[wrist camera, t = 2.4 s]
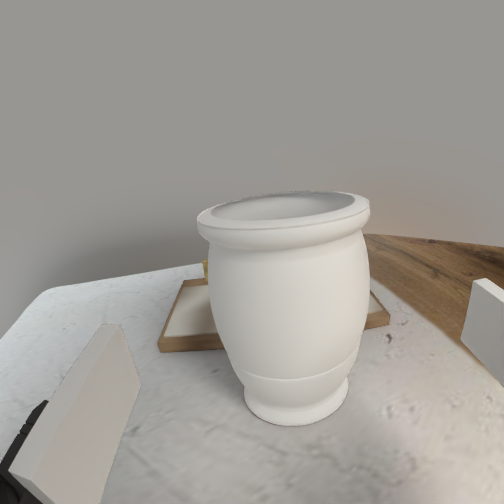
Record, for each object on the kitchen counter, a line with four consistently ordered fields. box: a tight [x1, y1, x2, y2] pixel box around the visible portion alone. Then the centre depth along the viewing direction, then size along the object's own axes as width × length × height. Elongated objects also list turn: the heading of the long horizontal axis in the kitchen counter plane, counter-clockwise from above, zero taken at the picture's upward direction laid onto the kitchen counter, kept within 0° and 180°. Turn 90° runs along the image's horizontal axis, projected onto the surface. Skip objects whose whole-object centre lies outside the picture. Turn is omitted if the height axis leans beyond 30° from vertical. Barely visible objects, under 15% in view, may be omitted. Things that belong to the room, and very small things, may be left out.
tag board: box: [158, 259, 390, 352], centre depth 37 cm, size 24×16×4 cm, turn 91°
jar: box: [197, 191, 370, 426], centre depth 21 cm, size 11×10×15 cm
